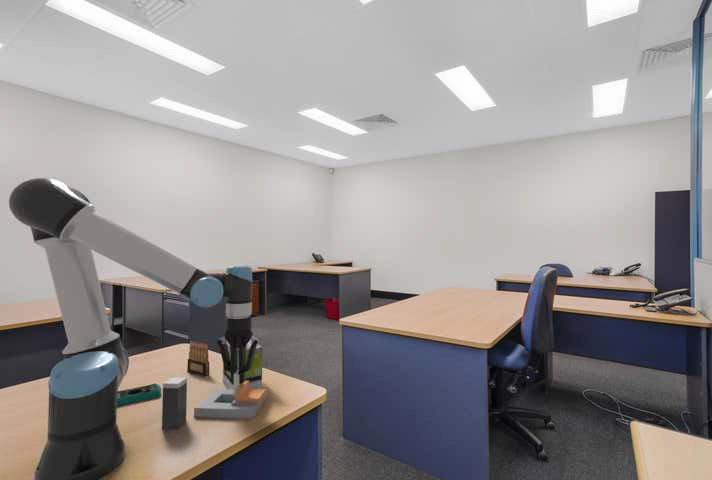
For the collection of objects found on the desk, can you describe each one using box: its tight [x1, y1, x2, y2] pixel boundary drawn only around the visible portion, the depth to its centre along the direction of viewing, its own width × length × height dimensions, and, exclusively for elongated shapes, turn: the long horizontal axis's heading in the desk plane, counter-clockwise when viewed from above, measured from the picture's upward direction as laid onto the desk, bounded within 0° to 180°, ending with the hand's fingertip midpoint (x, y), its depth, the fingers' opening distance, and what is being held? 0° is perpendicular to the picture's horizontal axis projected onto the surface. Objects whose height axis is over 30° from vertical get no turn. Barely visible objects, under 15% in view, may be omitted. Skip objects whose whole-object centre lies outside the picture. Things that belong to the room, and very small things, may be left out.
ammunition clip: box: [186, 340, 210, 377], centre depth 127 cm, size 11×2×12 cm, turn 63°
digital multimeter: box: [117, 383, 162, 407], centre depth 105 cm, size 7×15×3 cm, turn 127°
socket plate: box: [193, 388, 268, 420], centre depth 99 cm, size 13×17×3 cm
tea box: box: [222, 340, 264, 389], centre depth 115 cm, size 15×10×15 cm, turn 35°
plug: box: [161, 376, 188, 430], centre depth 89 cm, size 4×4×12 cm
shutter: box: [235, 380, 267, 404], centre depth 99 cm, size 7×7×4 cm
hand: (237, 393), depth 99 cm, fingers closed
